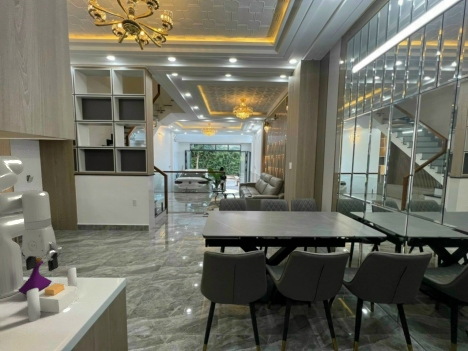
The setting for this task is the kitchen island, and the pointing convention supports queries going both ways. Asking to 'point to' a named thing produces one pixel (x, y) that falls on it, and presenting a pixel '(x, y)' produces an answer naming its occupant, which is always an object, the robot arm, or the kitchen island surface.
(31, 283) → the perfume bottle
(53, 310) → the breaker box
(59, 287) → the button
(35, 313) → the post
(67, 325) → the kitchen island surface
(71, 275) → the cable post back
